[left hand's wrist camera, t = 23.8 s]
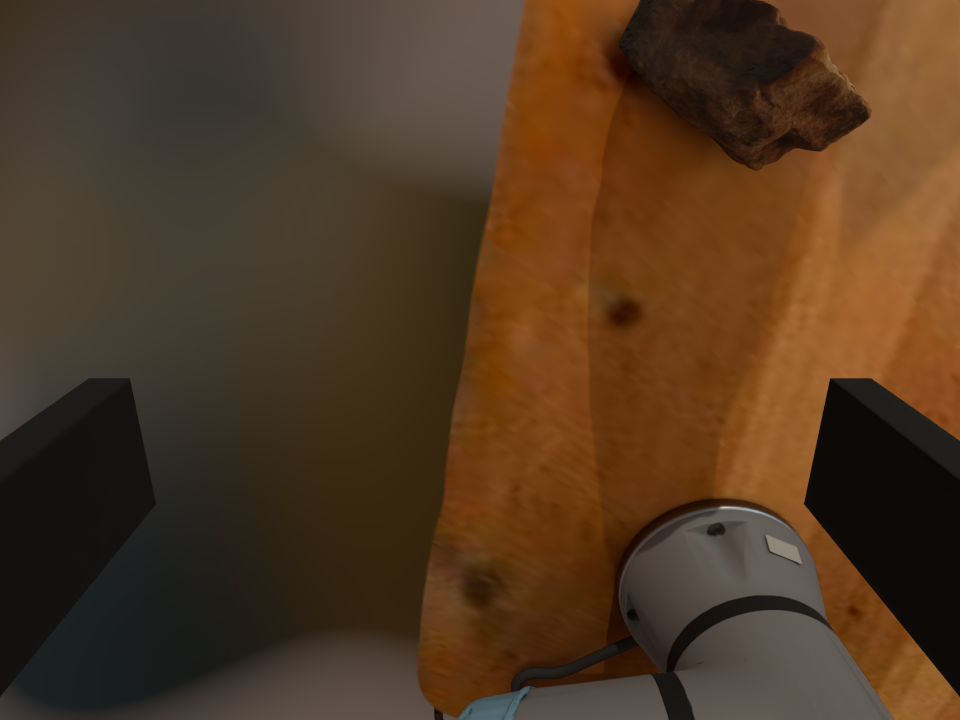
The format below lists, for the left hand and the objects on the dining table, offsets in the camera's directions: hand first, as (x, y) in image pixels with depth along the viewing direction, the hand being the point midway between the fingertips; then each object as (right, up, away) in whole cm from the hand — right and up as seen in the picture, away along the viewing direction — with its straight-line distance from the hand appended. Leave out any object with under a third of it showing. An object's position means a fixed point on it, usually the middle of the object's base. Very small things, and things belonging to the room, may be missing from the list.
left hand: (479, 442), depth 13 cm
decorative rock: (+14, +19, +27) cm, 36 cm away
